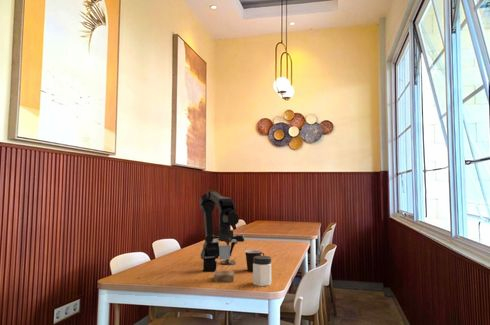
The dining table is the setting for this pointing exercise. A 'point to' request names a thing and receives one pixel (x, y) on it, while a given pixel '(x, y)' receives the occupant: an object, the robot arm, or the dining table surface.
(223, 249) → the block
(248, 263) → the coffee mug
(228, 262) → the candlestick
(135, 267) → the dining table surface
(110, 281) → the dining table surface
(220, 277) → the base
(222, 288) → the dining table surface
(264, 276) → the jar
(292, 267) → the dining table surface
